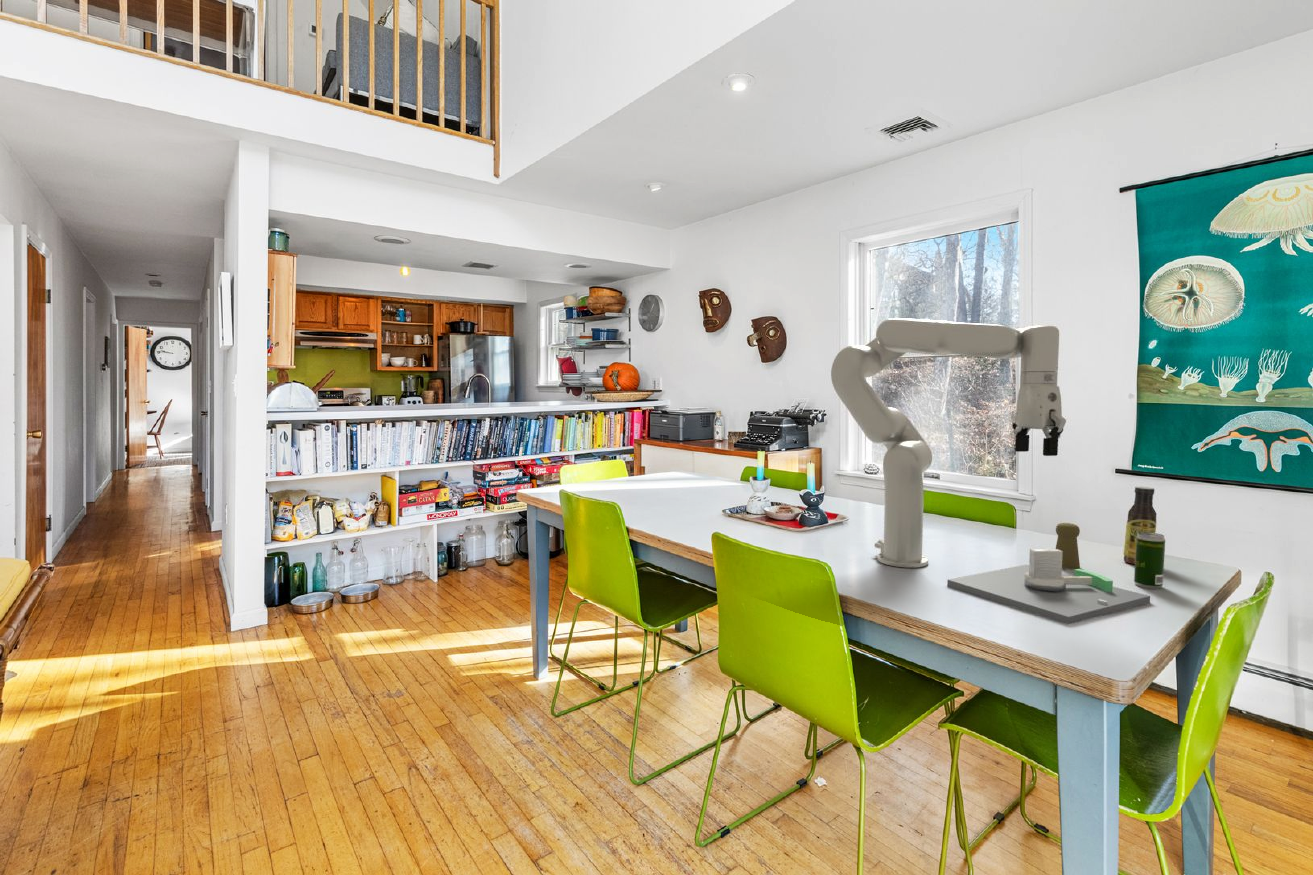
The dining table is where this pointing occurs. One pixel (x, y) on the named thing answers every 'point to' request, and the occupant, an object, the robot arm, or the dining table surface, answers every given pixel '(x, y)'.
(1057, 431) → the robot arm
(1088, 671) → the dining table surface
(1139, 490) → the sauce bottle
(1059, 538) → the cork
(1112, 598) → the dial board
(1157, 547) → the beer can
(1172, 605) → the dining table surface
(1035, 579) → the knob
